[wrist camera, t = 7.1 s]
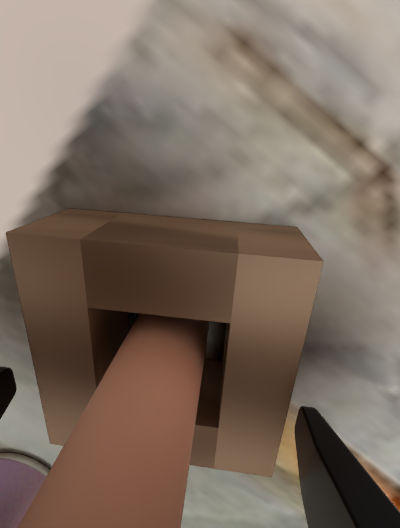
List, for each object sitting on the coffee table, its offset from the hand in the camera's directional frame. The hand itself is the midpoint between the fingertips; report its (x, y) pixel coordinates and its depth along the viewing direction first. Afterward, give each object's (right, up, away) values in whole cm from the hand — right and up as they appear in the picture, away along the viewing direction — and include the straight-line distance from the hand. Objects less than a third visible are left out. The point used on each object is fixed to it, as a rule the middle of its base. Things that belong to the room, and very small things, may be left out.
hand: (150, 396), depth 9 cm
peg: (0, +2, +4) cm, 5 cm away
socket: (0, +2, +4) cm, 4 cm away
